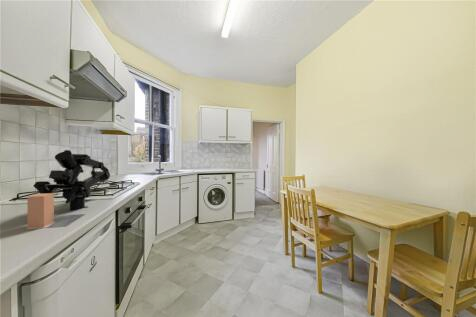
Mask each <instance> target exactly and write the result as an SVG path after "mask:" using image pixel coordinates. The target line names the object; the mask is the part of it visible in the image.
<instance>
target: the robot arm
mask: <svg viewBox="0 0 476 317" xmlns="http://www.w3.org/2000/svg"><path fill="white" fill-rule="evenodd" d="M54 159H55V161H56V162H57V163H58V164H59V165H60V166H61V168H63V169H64V170H58V169H57V170H52V169H51V171H50V172H49V176H48V178H49V179H52V180H53V182H54V183H51V182H50V181H48V180H45V181H44V180H43V181H41V180H40V181H36V182H35V183H34V184H33V187H34V188H35V189H36V190H37V191H38V192H39V194H45V193H53V191H54V189H55V190H57V189H58V190H59V189H62V194H63V196H64V200H65V204H69V209H67V210H68V211H70V212H71V211H79V210H83V209H87V208H89V206H86V203H85V202H86V199H87V198H89V197H90V196H91V191H90V189H91V187H92V186H94V185H96V184H98V183H99V182H105V181H108V180H109V179H110V178H111V174H110V170H109V169H108V167H106V166H105V164H104V162H103V161H99V160H96V159H92V158H91V156H90V155H88V153H87V154H84V153H82V154H81V153H72V151H71V150H70V149H64V151H61V152H58V153H57V154H55V156H54ZM82 166H85V167H90V168H92V169H91V172H90V175H91V176H90V177H88V178H85V179H84V180H79V178H78V177H79V175H80V174H81V173H84V169H83V167H82ZM96 169H100V170H101V171H99V170H98V171H96Z"/></svg>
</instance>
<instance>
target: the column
mask: <svg viewBox="0 0 476 317" xmlns="http://www.w3.org/2000/svg"><path fill="white" fill-rule="evenodd" d="M26 198H27V201H26V202H27V206H26V207H27V228H41V229H43V228H42V227H46V226H48V225H50V224H52V223H54V216H55V193H54V192H50V193H45V194H40V193H37V194H35V193H34V194H31V195H29V196H27V197H26Z"/></svg>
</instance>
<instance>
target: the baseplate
mask: <svg viewBox="0 0 476 317" xmlns="http://www.w3.org/2000/svg"><path fill="white" fill-rule="evenodd" d="M85 215H86V214H85V213H84V214H83V213H81V214H79V213H78V214H66V215H63V214H62V215H54V223H52V224H50V225H48V226H46V227H42V228H28V227H27V228H25V229H24V230H26V231H27V230H38V229H39V230H40V229H51V228H54V229H55V228H64V227H65V228H66V227H68V226H69V225H71V224H73V223H74V222H76V221H77V220H79V219H81V218H82V217H84V216H85Z"/></svg>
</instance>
